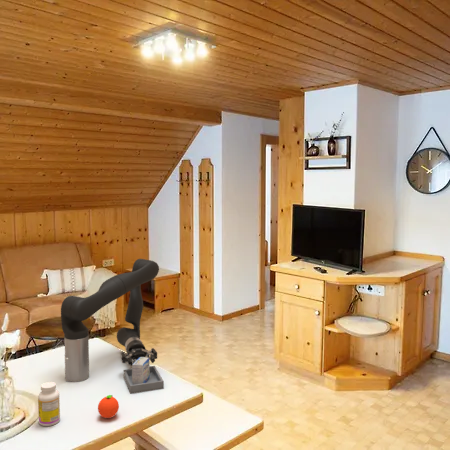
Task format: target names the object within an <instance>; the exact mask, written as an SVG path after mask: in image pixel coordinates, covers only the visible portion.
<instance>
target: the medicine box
mask: <svg viewBox="0 0 450 450" xmlns="http://www.w3.org/2000/svg"><path fill="white" fill-rule="evenodd" d="M149 366H150V360H149V358H147V357H139V358H138V359H137V360H134V361H133V362H132V366H131V369H132V383H133V385H135V384H142V383H146V382H147V380H148V379H149V378H150V371H149Z"/></svg>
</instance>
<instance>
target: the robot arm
mask: <svg viewBox="0 0 450 450" xmlns="http://www.w3.org/2000/svg"><path fill="white" fill-rule="evenodd" d="M159 272H160V266H159V264H158V263H157V262H156V261H153V260H149V259H144V258H138V259H136V260H135V261H134V263H133V265H132V268H131V271H130V272H124V273H120V274H115V275H114V276H112V277H110V278H108V279H106V280H105V281H103V282H102V284H101V285H100V286H99V288H98V290H97V291H96V292H95V293H92V294H91V295H89V296H85V297H81V296H77V295H69V296H67V297H65V298H64V299H63V300H62V303H61V306H60V319H61V320H60V321H61V330H62V332H63V334H64V336H63V338H64V376H65V382H73V383H77V382H83V381H85V380H87V379H88V378H89V377H90V353H89V352H90V351H89V349H90V346H89V345H90V343H89V329H88V327H87V326H86V325H85V324H84V323H83V321H86V320H87V319H89V318H90V317H92V316H93V315H94V314H96V313H97V312H99V310H101V309H102V308H104V307H106V306H107V305H109V304H110V303H112V302H113V301H115V300H117V299H119V298H121V297H122V296H124V295H126V294H127V293H129V299H128V304H127V309H126V314H125V317H124V321H125V322H126V323H128V324H131V325H132V326H133V328H129V327H121V328H119V329H118V331H117V332H116V340H117V342H118V343H119V344H120V345H122V347H124V348H125V352H124V351H121V352H120V358H121V363H122V364H128V365H129V366H130V367H132V364H133V363H134V362H135V361H136V360H137V359H138V358H139V357H147V358H149V362H151V364H154V363H155V362H156V360H157V359H158V352H157V350H156V349H154V348H151V349H150V350H148V349H146V347H145V345H144V343H143V342H142V340H141V327H140V326H141V318H142V314H143V310H144V300H143V295H142V289H141V288H142V287H141V285H143V284H145V283H148V282H151V281H152V280H154V279H155V278H156V277H157V276H158V274H159Z"/></svg>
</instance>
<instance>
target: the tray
mask: <svg viewBox="0 0 450 450" xmlns="http://www.w3.org/2000/svg"><path fill="white" fill-rule="evenodd" d="M149 371H150V378H149V379H148V380H147V382H146V383H142V384H135V385H133V383H132V368H129V369H123V379H124V381H125V384H126V387H127V389H128V392H129V394H137V393H138V394H139V393H145V392H151V391H156V390H158V391H159V390H163V389H165V386H164V385H165V384H164V379H163V378H162V376H161V374H160V373H159V370H158V369H157V367H156V365H149Z"/></svg>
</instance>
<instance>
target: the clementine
mask: <svg viewBox="0 0 450 450" xmlns="http://www.w3.org/2000/svg"><path fill="white" fill-rule="evenodd" d="M119 407H120V405H119V401H118V400H117V399H116V397H114V396H113V394H109V395H107V396H104V397H103V398H101V400H100V401H98V405H97V411H98V414H99V415H100V416H101V417H102V418H105V419H111V418H113V417H114V416H116V415H117V413H118V411H119Z"/></svg>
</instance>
